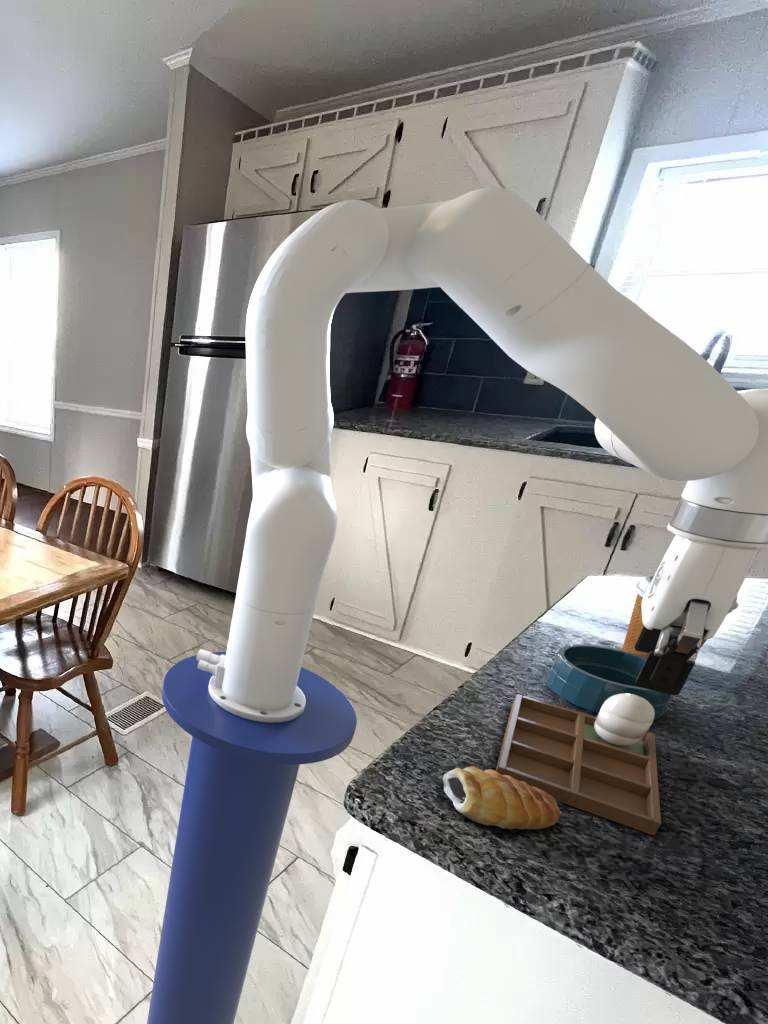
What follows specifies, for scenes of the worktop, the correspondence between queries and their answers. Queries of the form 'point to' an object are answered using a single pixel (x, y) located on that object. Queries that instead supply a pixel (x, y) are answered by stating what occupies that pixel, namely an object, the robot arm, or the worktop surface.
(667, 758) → the worktop surface
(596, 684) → the bowl
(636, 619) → the disposable coffee cup
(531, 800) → the pastry
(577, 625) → the worktop surface
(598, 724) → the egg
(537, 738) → the compartment tray
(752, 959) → the worktop surface
